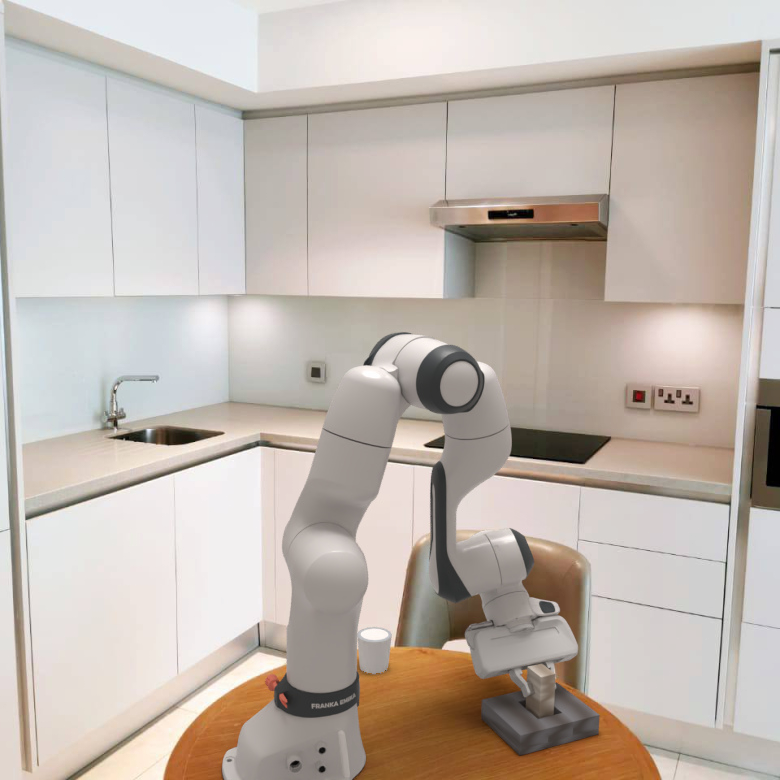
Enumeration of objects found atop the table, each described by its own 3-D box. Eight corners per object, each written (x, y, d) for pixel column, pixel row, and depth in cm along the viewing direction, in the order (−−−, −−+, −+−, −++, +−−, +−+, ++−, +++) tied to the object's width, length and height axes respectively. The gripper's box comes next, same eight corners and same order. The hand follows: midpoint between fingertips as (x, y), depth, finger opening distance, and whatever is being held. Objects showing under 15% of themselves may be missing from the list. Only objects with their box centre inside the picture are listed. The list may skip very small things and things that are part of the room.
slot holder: (519, 755, 127) (520, 735, 126) (481, 718, 137) (481, 699, 137) (598, 734, 133) (599, 714, 133) (555, 700, 144) (556, 682, 144)
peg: (538, 727, 133) (541, 677, 132) (525, 715, 136) (527, 666, 135) (553, 723, 134) (555, 673, 133) (539, 711, 138) (541, 663, 136)
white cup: (390, 659, 159) (391, 626, 158) (391, 675, 152) (392, 641, 151) (356, 659, 159) (357, 626, 158) (356, 675, 152) (357, 641, 151)
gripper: (468, 618, 135) (496, 699, 128) (564, 601, 144) (596, 675, 136) (455, 633, 140) (481, 711, 132) (549, 615, 148) (579, 688, 141)
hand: (540, 693), depth 134 cm, fingers closed on peg, 3 cm apart
